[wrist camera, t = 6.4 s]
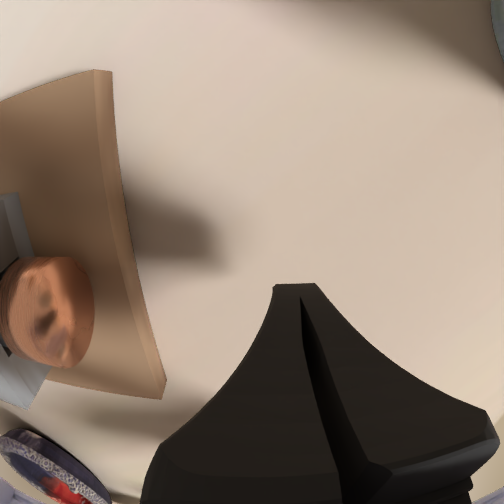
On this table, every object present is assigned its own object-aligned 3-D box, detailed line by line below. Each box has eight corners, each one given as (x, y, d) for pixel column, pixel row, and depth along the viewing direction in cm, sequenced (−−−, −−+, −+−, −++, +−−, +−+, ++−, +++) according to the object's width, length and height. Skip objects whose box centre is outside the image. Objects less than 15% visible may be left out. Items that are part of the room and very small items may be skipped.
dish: (99, 448, 23) (86, 488, 19) (126, 509, 37) (121, 531, 32) (-17, 392, 22) (-35, 423, 17) (49, 481, 36) (42, 500, 31)
